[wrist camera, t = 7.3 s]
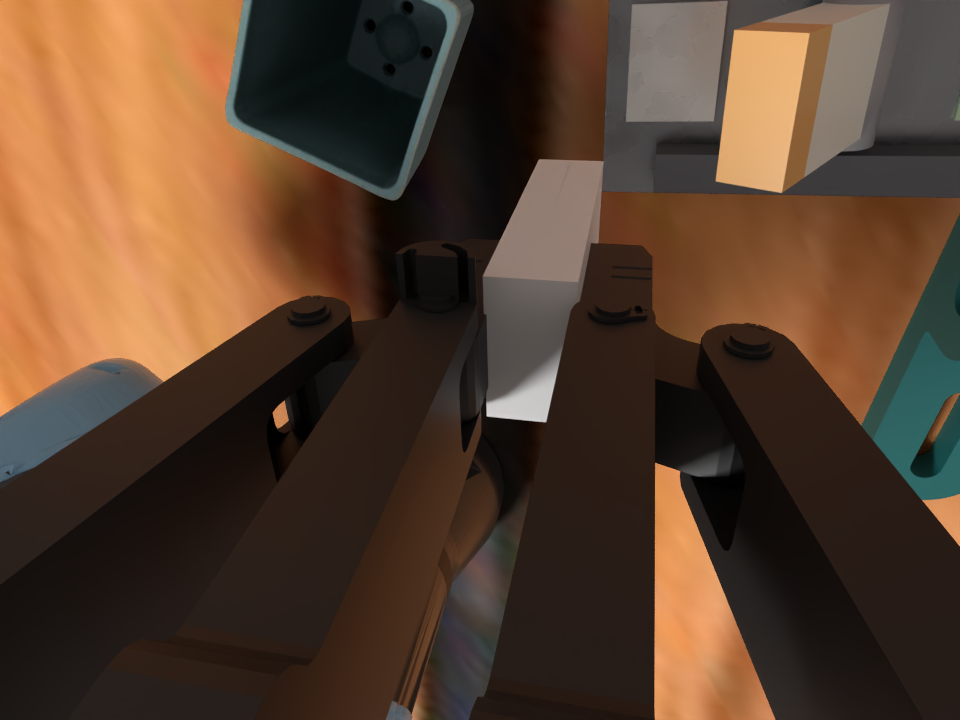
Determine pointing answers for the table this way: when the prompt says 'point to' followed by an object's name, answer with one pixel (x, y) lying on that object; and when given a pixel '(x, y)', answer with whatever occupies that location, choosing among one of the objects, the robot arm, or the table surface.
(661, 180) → the dark grey rectangular piece
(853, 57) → the breaker lever
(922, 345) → the bracket
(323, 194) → the table surface
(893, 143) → the breaker panel
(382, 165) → the flower pot
